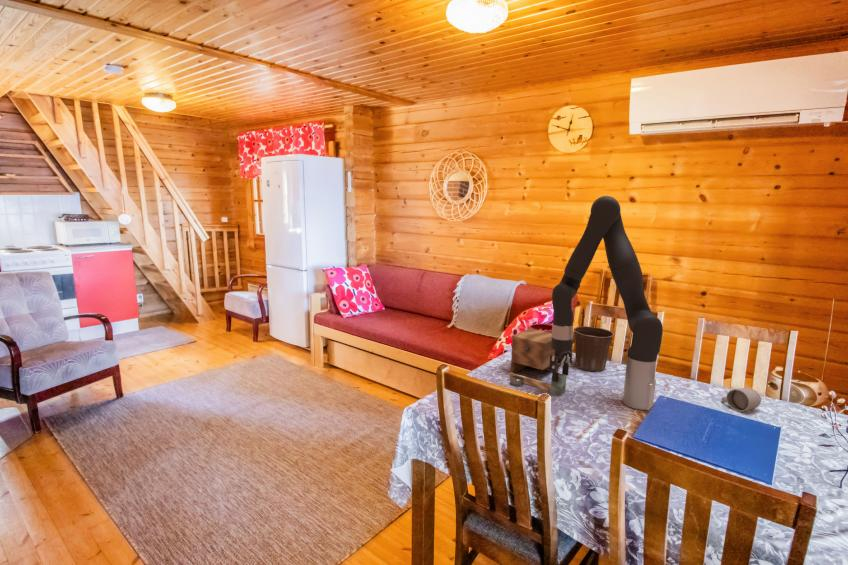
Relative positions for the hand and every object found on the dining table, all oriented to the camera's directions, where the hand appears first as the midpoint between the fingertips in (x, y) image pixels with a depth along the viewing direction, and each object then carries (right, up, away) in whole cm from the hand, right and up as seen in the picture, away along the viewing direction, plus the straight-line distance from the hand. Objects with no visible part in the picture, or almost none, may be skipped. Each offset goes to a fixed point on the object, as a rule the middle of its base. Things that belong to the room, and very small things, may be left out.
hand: (560, 378), depth 166 cm
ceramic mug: (+60, -9, -9) cm, 61 cm away
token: (-15, -4, +8) cm, 17 cm away
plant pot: (+22, -1, +28) cm, 36 cm away
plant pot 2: (+6, +3, +49) cm, 50 cm away
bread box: (-5, -2, +21) cm, 21 cm away
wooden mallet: (-8, -4, +6) cm, 11 cm away
